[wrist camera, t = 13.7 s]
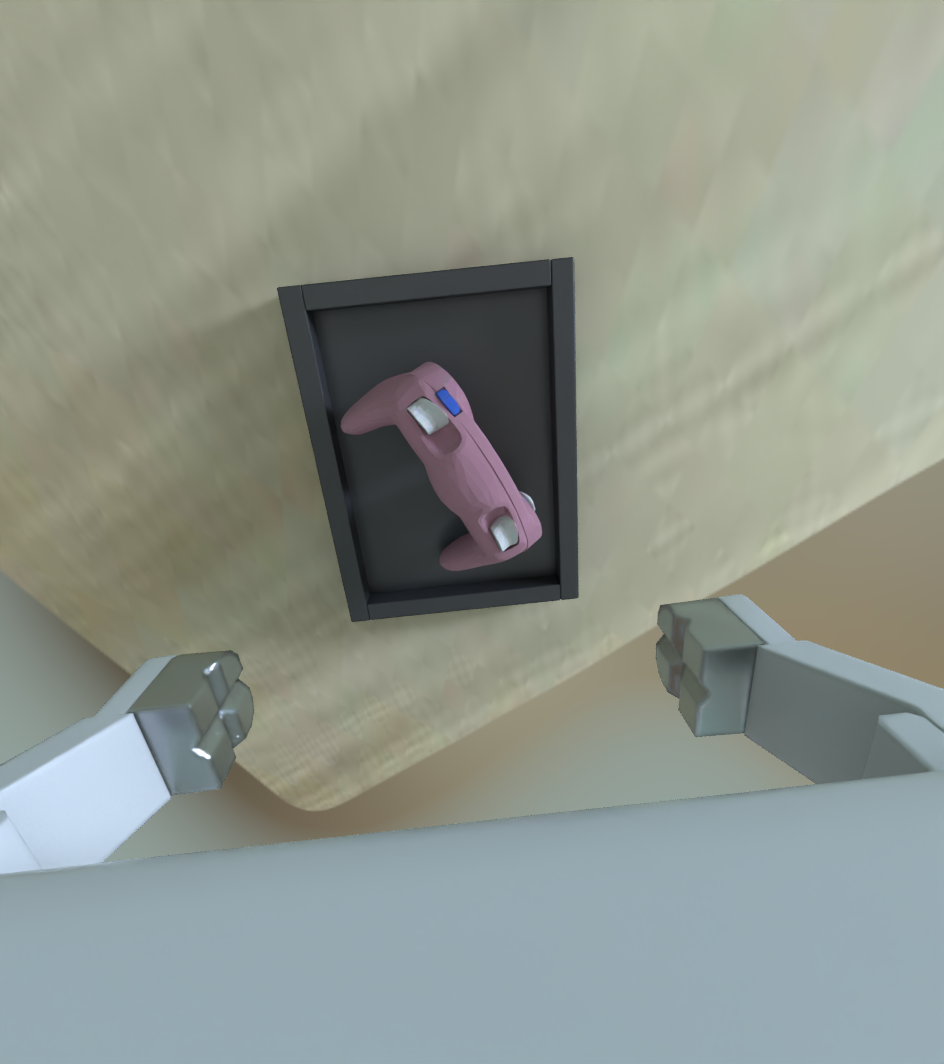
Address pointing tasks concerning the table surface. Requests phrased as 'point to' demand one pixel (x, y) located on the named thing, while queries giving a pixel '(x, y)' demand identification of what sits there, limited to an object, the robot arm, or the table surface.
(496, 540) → the video game controller
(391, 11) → the table surface
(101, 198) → the table surface
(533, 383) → the black rectangular tray
